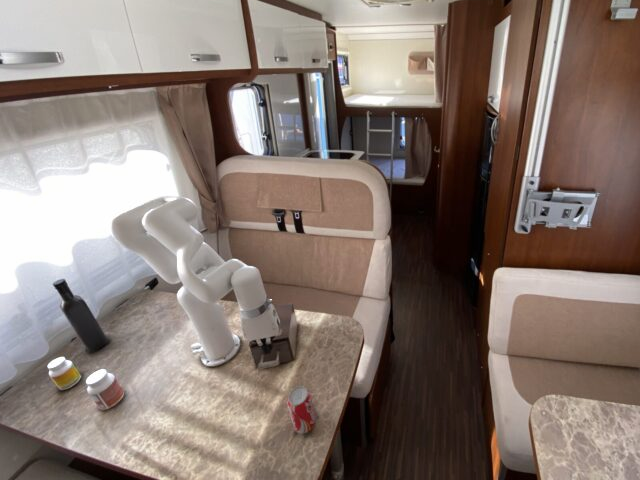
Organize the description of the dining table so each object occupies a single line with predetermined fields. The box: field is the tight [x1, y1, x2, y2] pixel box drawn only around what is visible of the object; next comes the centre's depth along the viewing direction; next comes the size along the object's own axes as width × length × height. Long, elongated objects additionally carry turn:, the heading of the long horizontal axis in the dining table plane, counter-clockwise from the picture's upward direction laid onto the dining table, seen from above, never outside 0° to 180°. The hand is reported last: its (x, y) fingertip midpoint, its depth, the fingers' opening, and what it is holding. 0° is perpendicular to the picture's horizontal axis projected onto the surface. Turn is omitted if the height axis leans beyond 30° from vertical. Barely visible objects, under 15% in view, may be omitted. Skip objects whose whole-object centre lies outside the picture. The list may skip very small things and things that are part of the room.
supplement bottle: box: [47, 356, 82, 391], centre depth 98 cm, size 5×5×10 cm
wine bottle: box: [52, 278, 109, 353], centre depth 107 cm, size 6×6×30 cm
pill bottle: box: [85, 368, 125, 411], centre depth 91 cm, size 6×6×11 cm
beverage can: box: [286, 385, 317, 435], centre depth 82 cm, size 6×6×12 cm
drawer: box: [249, 339, 293, 370], centre depth 103 cm, size 19×11×9 cm, turn 11°
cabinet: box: [248, 302, 299, 367], centre depth 107 cm, size 16×13×11 cm
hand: (268, 350), depth 95 cm, fingers closed
